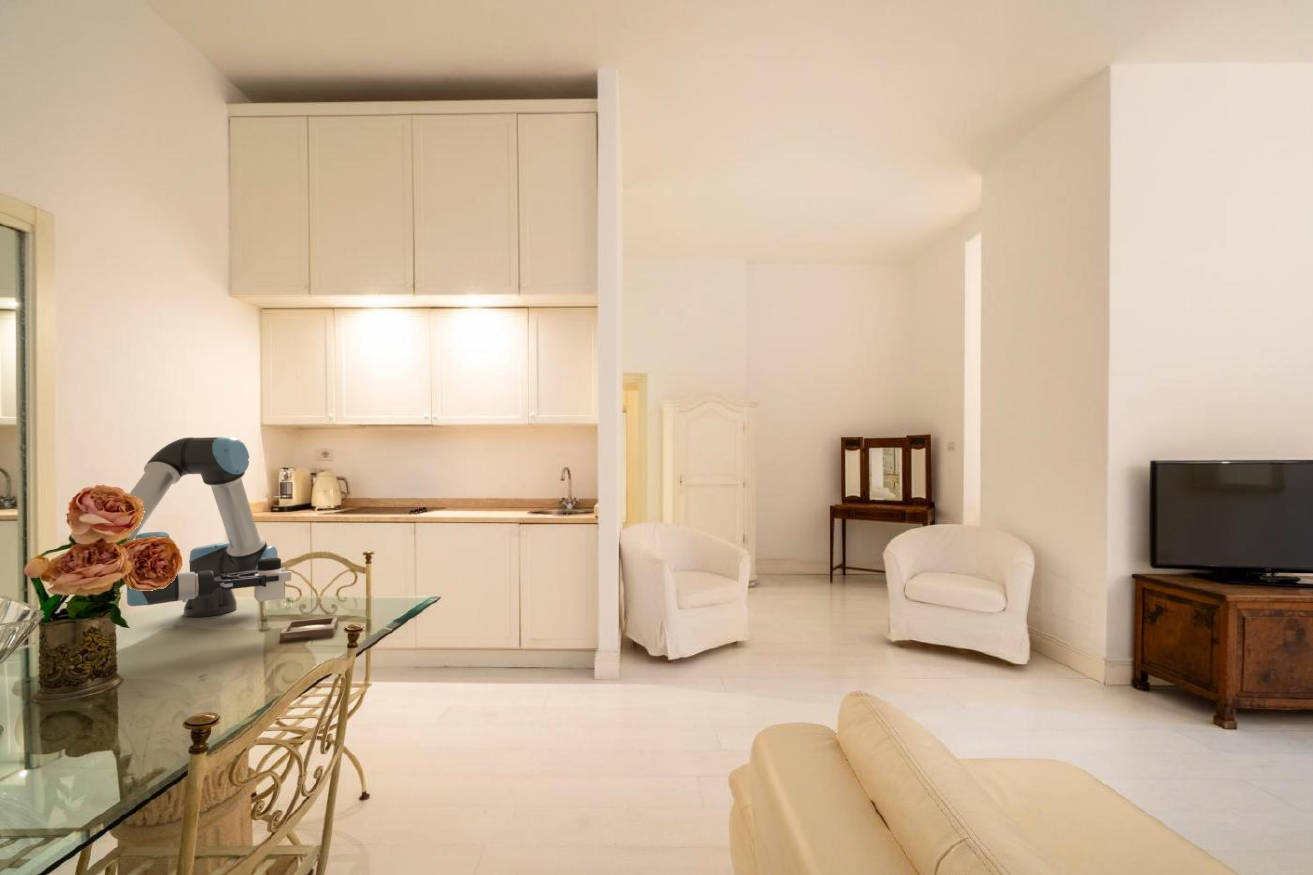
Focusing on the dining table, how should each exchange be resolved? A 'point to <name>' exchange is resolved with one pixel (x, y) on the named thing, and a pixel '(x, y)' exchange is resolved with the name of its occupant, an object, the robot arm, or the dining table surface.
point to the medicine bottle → (271, 589)
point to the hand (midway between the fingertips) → (288, 574)
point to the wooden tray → (309, 629)
